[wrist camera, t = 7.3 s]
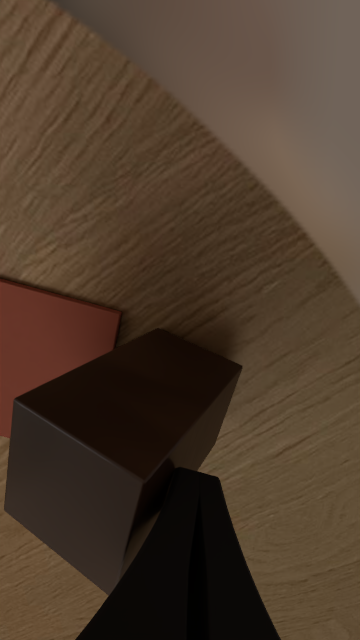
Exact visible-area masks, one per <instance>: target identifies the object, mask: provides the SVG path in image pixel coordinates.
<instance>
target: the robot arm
mask: <svg viewBox="0 0 360 640" xmlns="http://www.w3.org/2000/svg"><path fill="white" fill-rule="evenodd" d="M75 640H281V639H280V637H279V635H278V633H277V631H276V629H275V627H274V625H273V623H272V621H271V619H270V617H269V615H268V612H267V610H266V608H265V606H264V604H263V602H262V599H261V597H260V595H259V592H258V590H257V588H256V586H255V583H254V581H253V578H252V576H251V573H250V571H249V569H248V566H247V563H246V561H245V558H244V556H243V553H242V550H241V547H240V545H239V542H238V539H237V536H236V533H235V531H234V528H233V525H232V521H231V518H230V515H229V512H228V509H227V505H226V502H225V498H224V494H223V491H222V487H221V482H220V480H219V478H218V477H216V476H212V475H208V474H205V473H201V472H198V471H194V470H191V469H187V468H183V467H178V468H175V471H174V475H173V478H172V481H171V484H170V487H169V490H168V493H167V497H166V500H165V503H164V505H163V507H162V509H161V511H160V513H159V515H158V518H157V520H156V522H155V524H154V525H153V527H152V529H151V531H150V533H149V534H148V536H147V538H146V539H145V541H144V543H143V545H142V546H141V548H140V550H139V552H138V553H137V555H136V556H135V558H134V560H133V561H132V563H131V564H130V566H129V567H128V569H127V570H126V572H125V573H124V575H123V576H122V578H121V579H120V581H119V582H118V584H117V585H116V587H115V588H114V589H113V591H112V592H111V594H110V595H109V596H108V598H107V599H106V601H105V602H104V603H103V605H102V606H101V607H100V609H99V610H98V611H97V613H96V614H95V615H94V617H93V618H92V619H91V621H90V622H89V623H88V625H87V626H86V627H85V628H84V630H83V631H82V632H81V633H80V635H79V636H78V637H77V638H76V639H75Z"/></svg>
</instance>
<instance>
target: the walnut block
mask: <svg viewBox="0 0 360 640" xmlns="http://www.w3.org/2000/svg"><path fill="white" fill-rule="evenodd" d="M241 370H242V365H239V364H237V363H235V362H233V361H231V360H228V359H226V358H224V357H222V356H219V355H217V354H215V353H213V352H210V351H208V350H206V349H204V348H202V347H199V346H197V345H195V344H193V343H190V342H188V341H186V340H184V339H181V338H179V337H177V336H175V335H173V334H170V333H168V332H166V331H164V330H161V329H159V328H157V329H155V330H153V331H151V332H149V333H146V334H144V335H142V336H140V337H138V338H136V339H134V340H132V341H130V342H128V343H126V344H124V345H122V346H120V347H118V348H116V349H114V350H112V351H110V352H108V353H106V354H104V355H102V356H99V357H97V358H95V359H93V360H91V361H89V362H87V363H85V364H83V365H81V366H79V367H77V368H75V369H73V370H71V371H69V372H67V373H65V374H63V375H61V376H59V377H57V378H55V379H53V380H50V381H48V382H46V383H44V384H42V385H40V386H38V387H36V388H34V389H32V390H30V391H28V392H26V393H24V394H22V395H20V396H18V397H16V398H15V399H14V400H13V412H12V423H11V435H10V446H9V458H8V470H7V481H6V493H5V504H4V510H5V511H6V512H7V513H8V514H9V515H11V516H12V517H13V518H14V519H15V520H17V521H18V522H19V523H20V524H22V525H23V526H24V527H25V528H26V529H28V530H29V531H30V532H31V533H33V534H34V535H35V536H36V537H38V538H39V539H40V540H41V541H42V542H44V543H45V544H46V545H47V546H49V547H50V548H51V549H52V550H54V551H55V552H56V553H57V554H58V555H60V556H61V557H62V558H63V559H65V560H66V561H67V562H68V563H69V564H71V565H72V566H73V567H74V568H76V569H77V570H78V571H79V572H81V573H82V574H83V575H84V576H85V577H87V578H88V579H89V580H90V581H92V582H93V583H94V584H95V585H96V586H98V587H99V588H100V589H101V590H103V591H104V592H105V593H106V594H108V595H110V594H111V592H112V591H113V589H114V588H115V587H116V585H117V584H118V582H119V581H120V579H121V578H122V576H123V575H124V573H125V572H126V570H127V569H128V567H129V566H130V564H131V563H132V561H133V560H134V558H135V556H136V555H137V553H138V552H139V550H140V548H141V546H142V545H143V543H144V541H145V539H146V538H147V536H148V534H149V533H150V531H151V529H152V527H153V525H154V524H155V522H156V520H157V518H158V515H159V513H160V511H161V509H162V507H163V505H164V503H165V500H166V497H167V493H168V490H169V487H170V484H171V481H172V478H173V475H174V471H175V468H178V467H183V468H187V469H191V470H194V471H197V470H198V469H199V467H200V466H201V464H202V463H203V461H204V460H205V458H206V457H207V455H208V454H209V452H210V451H211V449H212V448H213V446H214V445H215V442H216V440H217V437H218V434H219V431H220V429H221V426H222V423H223V420H224V417H225V415H226V412H227V409H228V406H229V404H230V401H231V398H232V395H233V393H234V390H235V387H236V384H237V381H238V379H239V376H240V373H241Z"/></svg>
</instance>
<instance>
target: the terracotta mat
mask: <svg viewBox="0 0 360 640" xmlns="http://www.w3.org/2000/svg"><path fill="white" fill-rule="evenodd" d="M121 315H122V312H121V311H117V310H113V309H110V308H106V307H102V306H99V305H95V304H91V303H88V302H84V301H80V300H77V299H73V298H70V297H66V296H62V295H59V294H55V293H51V292H48V291H44V290H40V289H37V288H33V287H29V286H26V285H22V284H19V283H15V282H11V281H8V280H4V279H0V436H4V437H7V438H10V435H11V423H12V412H13V400H14V399H15V398H16V397H18V396H20V395H22V394H24V393H26V392H28V391H30V390H32V389H34V388H36V387H38V386H40V385H42V384H44V383H46V382H48V381H50V380H53V379H55V378H57V377H59V376H61V375H63V374H65V373H67V372H69V371H71V370H73V369H75V368H77V367H79V366H81V365H83V364H85V363H87V362H89V361H91V360H93V359H95V358H97V357H99V356H102V355H104V354H106V353H108V352H110V351H112V350H114V349H115V345H116V340H117V335H118V330H119V325H120V320H121Z"/></svg>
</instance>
